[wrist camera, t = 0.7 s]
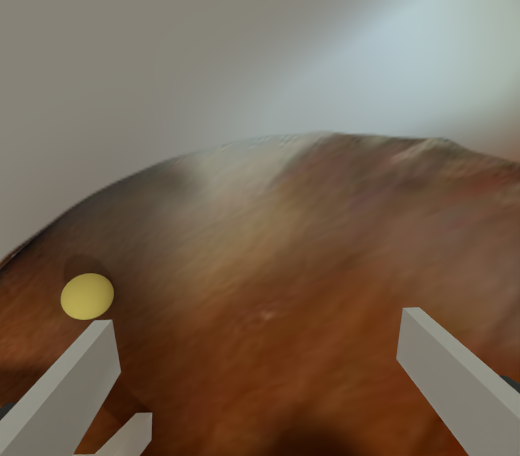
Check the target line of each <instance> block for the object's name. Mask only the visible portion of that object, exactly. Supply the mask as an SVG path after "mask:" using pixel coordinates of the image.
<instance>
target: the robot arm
mask: <svg viewBox="0 0 520 456" xmlns="http://www.w3.org/2000/svg"><path fill="white" fill-rule="evenodd" d="M396 359H397V360H398V362H399V363H400V364H401V366H402V367H403V368H404V370H405V371H406V372H407V374H408V375H409V376H410V378H411V379H412V380H413V381H414V383H415V384H416V385H417V387H418V388H419V389H420V391H421V392H422V393H423V395H424V396H425V397H426V399H427V400H428V401H429V403H430V404H431V405H432V407H433V408H434V409H435V411H436V412H437V413H438V415H439V416H440V417H441V419H442V420H443V421H444V423H445V424H446V425H447V427H448V428H449V429H450V431H451V432H452V433H453V435H454V436H455V437H456V439H457V440H458V441H459V443H460V444H461V445H462V447H463V448H464V449H465V451H466V452H467V453H468V455H469V456H520V384H519V383H517V382H516V381H514V380H512V379H510V378H509V377H507V376H498V375H497V374H496V373H495V372H494V371H493V370H491V369H490V368H489V367H488V366H487V365H486V364H484V363H483V362H482V361H481V360H480V359H479V358H477V357H476V356H475V355H474V354H473V353H472V352H470V351H469V350H468V349H467V348H466V347H465V346H463V345H462V344H461V343H460V342H459V341H458V340H456V339H455V338H454V337H453V336H452V335H451V334H450V333H448V332H447V331H446V330H445V329H444V328H443V327H441V326H440V325H439V324H438V323H437V322H436V321H434V320H433V319H432V318H431V317H430V316H429V315H427V314H426V313H425V312H424V311H423V310H422V309H420V308H419V307H416V308H403V312H402V320H401V327H400V335H399V342H398V350H397V358H396ZM120 373H121V369H120V363H119V357H118V352H117V346H116V340H115V334H114V328H113V322H112V320H95V321H93V322H92V323H91V325H90V326H89V327H88V328H87V329H86V330H85V331H84V332H83V333H82V334H81V335H80V336H79V337H78V338H77V339H76V341H75V342H74V343H73V344H72V345H71V346H70V347H69V348H68V349H67V350H66V351H65V352H64V353H63V354H62V356H61V357H60V358H59V359H58V360H57V361H56V362H55V363H54V364H53V365H52V366H51V367H50V368H49V369H48V370H47V372H46V373H45V374H44V375H43V376H42V377H41V378H40V379H39V380H38V381H37V382H36V383H35V384H34V385H33V387H32V388H31V389H30V390H29V391H28V392H27V393H26V394H25V395H24V396H23V397H22V398H21V399H20V400H19V401H18V402H17V403H7V404H6V405H5V406H3V407H2V408H0V456H72V455H73V453H74V452H75V450H76V448H77V447H78V445H79V443H80V442H81V440H82V438H83V436H84V435H85V433H86V431H87V430H88V428H89V426H90V424H91V423H92V421H93V419H94V418H95V416H96V414H97V412H98V411H99V409H100V407H101V406H102V404H103V402H104V400H105V399H106V397H107V395H108V394H109V392H110V390H111V388H112V387H113V385H114V383H115V382H116V380H117V378H118V376H119V375H120Z"/></svg>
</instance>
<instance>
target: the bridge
mask: <svg viewBox="0 0 520 456" xmlns="http://www.w3.org/2000/svg"><path fill="white" fill-rule="evenodd" d="M151 437H152V413H136V414H135V415H134V416H133V417H132V418H131V419H130V420H129V421H128V422H127V423H126V424H125V425H124V426H123V427H122V428H121V429H120V430H119V431H118V432H117V433H116V434H115V435H114V436H113V437H112V438H110V439H109V440H108V441H107V442H106V443H105V444H104V445H103V446H102V447H101V448H100V449H99V450H98V451H97V452H96V453H95V454H83V455H72V456H140V454H141V453H142V452H143V450H144V449H145V448H146V446H147V445H148V444H149V442H150V441H151Z"/></svg>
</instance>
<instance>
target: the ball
mask: <svg viewBox="0 0 520 456" xmlns="http://www.w3.org/2000/svg"><path fill="white" fill-rule="evenodd" d="M113 298H114V289H113V286H112V284H111V283H110V281H109V280H108V279H107V278H105V277H104V276H102V275H99V274H94V273H88V274H83V275H79V276H77V277H75V278H73V279H72V280H71V281H70V282H68V283H67V285H66V286H65V287H64V289H63V291H62V294H61V305H62V308H63V309H64V311H65V312H66V313H67V314H68V315H69V316H71V317H73V318H76V319H80V320H87V319H92V318H95V317H98V316H100V315H101V314H103V313H104V312H105V311H106V310H107V309H108V308H109V307H110V305H111V303H112V301H113Z"/></svg>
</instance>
